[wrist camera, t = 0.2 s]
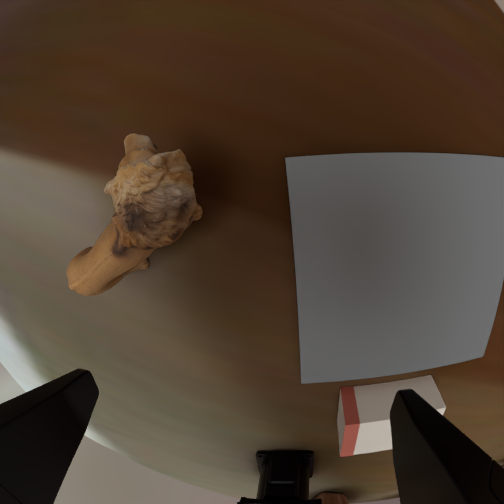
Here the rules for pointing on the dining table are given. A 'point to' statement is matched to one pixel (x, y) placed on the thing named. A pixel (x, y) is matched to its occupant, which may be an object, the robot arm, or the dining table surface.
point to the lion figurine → (138, 216)
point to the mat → (395, 260)
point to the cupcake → (332, 498)
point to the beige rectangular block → (376, 413)
